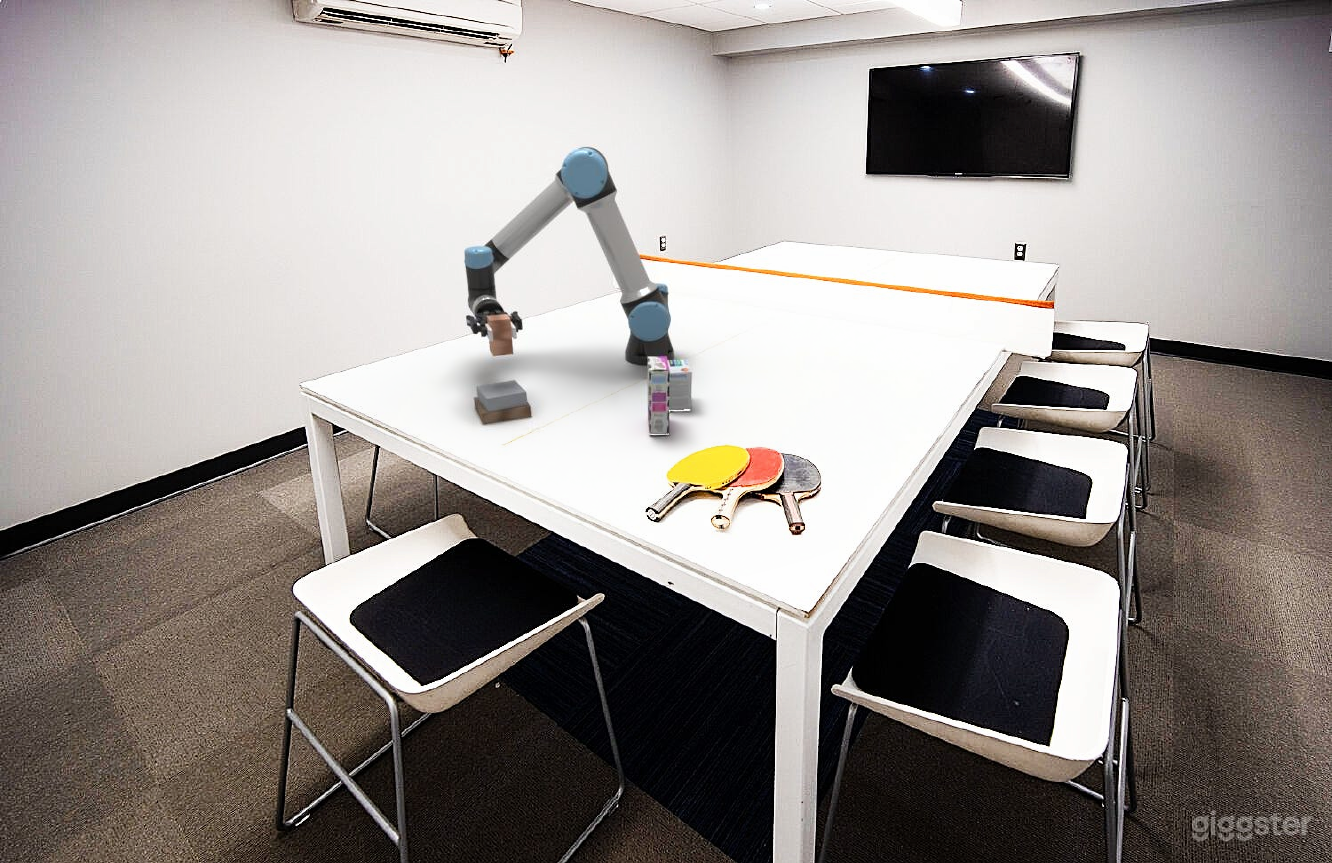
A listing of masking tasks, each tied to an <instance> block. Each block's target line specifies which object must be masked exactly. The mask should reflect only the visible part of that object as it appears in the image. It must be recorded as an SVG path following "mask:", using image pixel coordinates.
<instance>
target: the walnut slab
mask: <svg viewBox="0 0 1332 863" xmlns="http://www.w3.org/2000/svg"><path fill="white" fill-rule="evenodd" d="M473 400H474V401H473V402H474V409H475V411H476V412H477V414H478V416H479V418H480V420H481V422H482V424H483V425H489V424H495V423H501V421H502V422H509V421H513V420H515V421H516V420H521V419H526V418H532V407H531V404H530V403H529V402H528V401H527V404H528V405H524V406H519V407H514V408H508V409H503V410H497V411H492V412H487V410H486V409H485V408H484V406H483V405H482V404H481V403H480V401H479V400H478V397H477V396H475V397H473Z"/></svg>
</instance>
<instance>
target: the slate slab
mask: <svg viewBox="0 0 1332 863" xmlns="http://www.w3.org/2000/svg"><path fill="white" fill-rule="evenodd" d="M475 388H476V394H477V396H476V397H478V400H479V401H480V403H481V404H482V405H483V406H484V408H485V409H486V410H487V412H492V411H497V410H503V409H508V408H514V407H519V406H524V405H528V404H527V402H528V398H527V397H528V396H527V390H525V389H524V388H523V387H522V386H521V385H520V384H519V383H518V382H517V381H516V380H515V379H512V380H508V381H507V380H506V381H500V382H495V383H490V384H483V385H476V387H475Z"/></svg>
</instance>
